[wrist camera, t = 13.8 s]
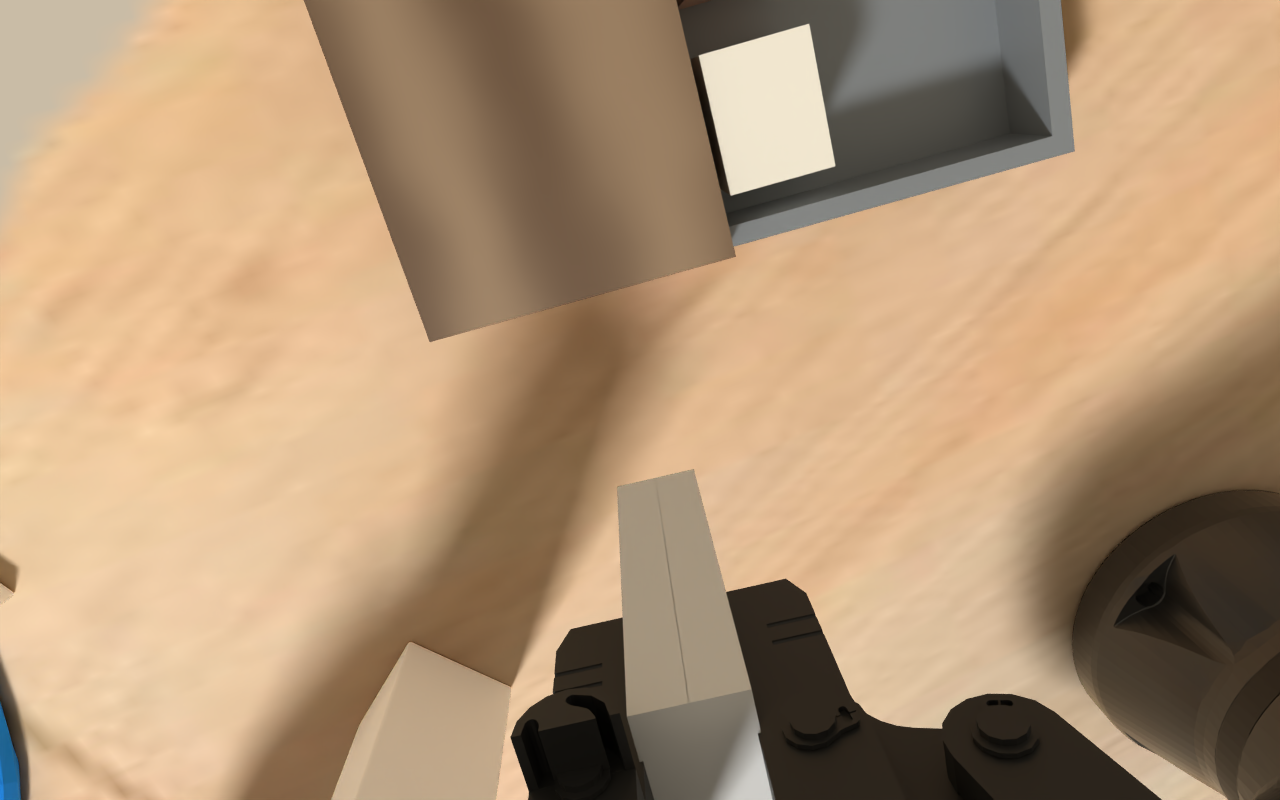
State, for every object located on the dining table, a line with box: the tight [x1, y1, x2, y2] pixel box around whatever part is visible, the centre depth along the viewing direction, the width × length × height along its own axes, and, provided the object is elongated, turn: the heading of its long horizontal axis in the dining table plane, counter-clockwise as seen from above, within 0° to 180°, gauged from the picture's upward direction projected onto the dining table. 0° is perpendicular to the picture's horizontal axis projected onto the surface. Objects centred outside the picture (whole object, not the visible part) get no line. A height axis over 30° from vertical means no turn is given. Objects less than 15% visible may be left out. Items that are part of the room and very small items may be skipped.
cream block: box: [690, 24, 835, 196], centre depth 33 cm, size 5×5×4 cm
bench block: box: [304, 0, 736, 342], centre depth 32 cm, size 12×16×6 cm
